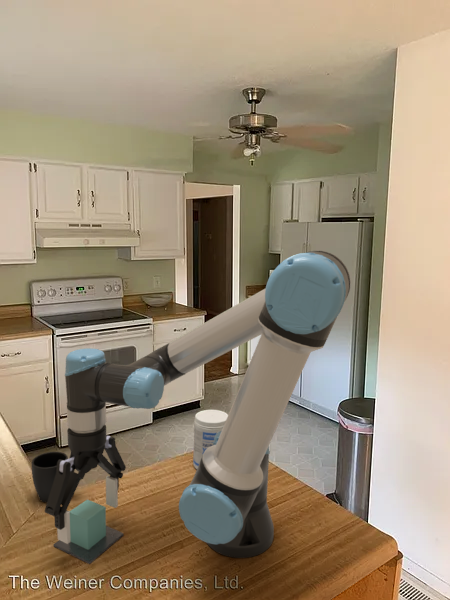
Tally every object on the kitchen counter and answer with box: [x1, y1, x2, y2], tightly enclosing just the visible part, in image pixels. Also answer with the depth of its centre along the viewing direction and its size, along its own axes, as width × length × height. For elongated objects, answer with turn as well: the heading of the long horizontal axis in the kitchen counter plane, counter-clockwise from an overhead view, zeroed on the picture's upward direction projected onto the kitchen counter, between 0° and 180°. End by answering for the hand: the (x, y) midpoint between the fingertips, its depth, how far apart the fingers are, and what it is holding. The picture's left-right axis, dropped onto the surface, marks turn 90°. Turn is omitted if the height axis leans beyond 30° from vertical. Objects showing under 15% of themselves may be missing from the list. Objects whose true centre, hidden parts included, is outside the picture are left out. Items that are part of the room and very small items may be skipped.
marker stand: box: [53, 525, 125, 565], centre depth 98 cm, size 10×10×6 cm
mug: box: [31, 451, 79, 503], centre depth 113 cm, size 8×12×10 cm
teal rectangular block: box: [69, 499, 107, 550], centre depth 98 cm, size 5×5×7 cm
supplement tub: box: [192, 409, 229, 470], centre depth 129 cm, size 10×10×15 cm
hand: (89, 522), depth 98 cm, fingers open, 13 cm apart
